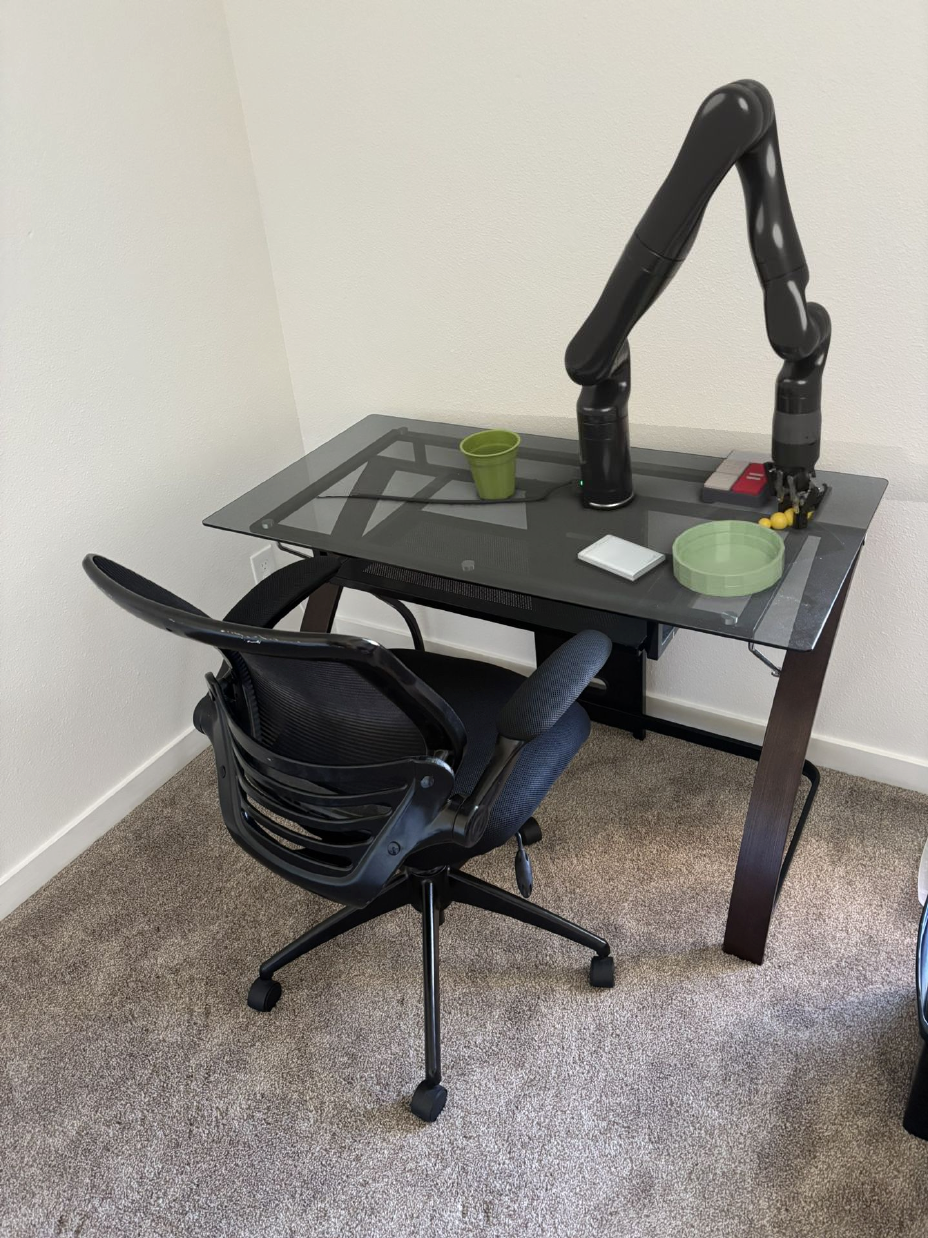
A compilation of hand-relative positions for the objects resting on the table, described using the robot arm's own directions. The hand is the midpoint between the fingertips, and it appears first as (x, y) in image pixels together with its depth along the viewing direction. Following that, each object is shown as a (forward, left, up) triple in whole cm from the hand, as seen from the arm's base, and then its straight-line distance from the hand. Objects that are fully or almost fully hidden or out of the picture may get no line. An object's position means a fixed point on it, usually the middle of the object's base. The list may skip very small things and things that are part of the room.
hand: (792, 525), depth 161 cm
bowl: (-12, -13, 0) cm, 18 cm away
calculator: (-6, +15, 0) cm, 16 cm away
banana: (0, 0, 0) cm, 0 cm away
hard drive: (-29, -8, 0) cm, 30 cm away
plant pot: (-53, +21, 0) cm, 57 cm away
